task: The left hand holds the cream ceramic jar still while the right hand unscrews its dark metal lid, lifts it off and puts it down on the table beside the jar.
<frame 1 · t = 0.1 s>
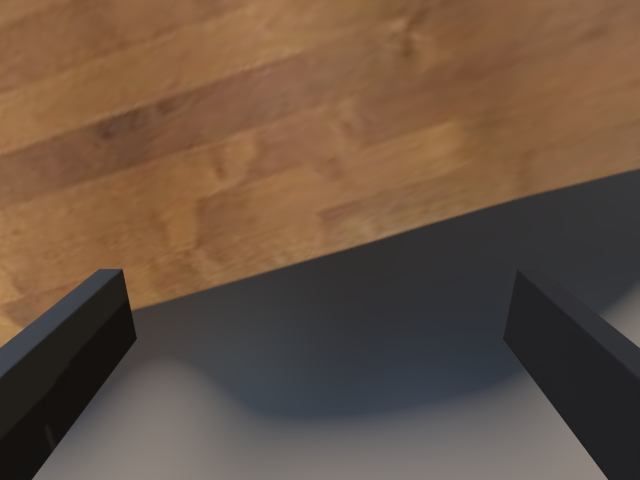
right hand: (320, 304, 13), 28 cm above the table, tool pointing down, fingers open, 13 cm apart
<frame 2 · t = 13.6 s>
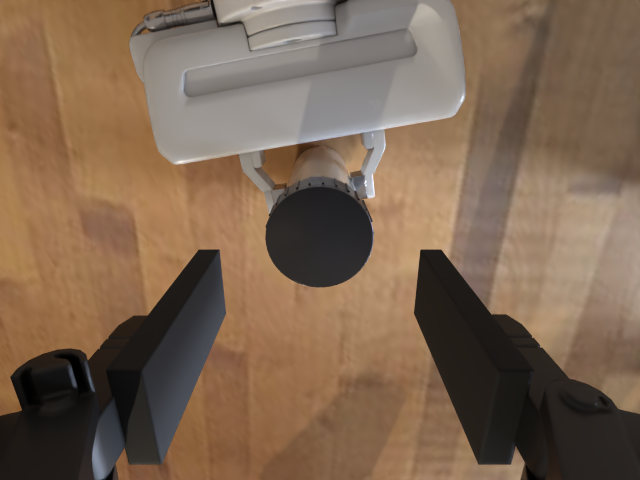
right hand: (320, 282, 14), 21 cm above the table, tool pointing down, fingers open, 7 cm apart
left hand: (322, 203, 28), fingers closed on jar, 5 cm apart
lid: (319, 237, 19), point 16 cm above the table, screwed on, not yet turned
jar: (319, 173, 34), on the table, touching left hand
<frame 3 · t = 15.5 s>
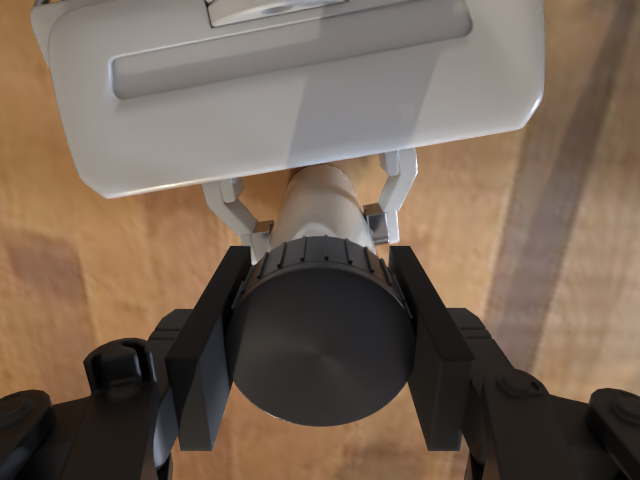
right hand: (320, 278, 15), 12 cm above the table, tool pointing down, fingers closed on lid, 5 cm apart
left hand: (324, 250, 20), fingers closed on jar, 5 cm apart
lid: (320, 346, 11), point 16 cm above the table, screwed on, not yet turned, touching right hand
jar: (320, 199, 26), on the table, touching left hand
when the right hand's fingers open (12 cm above the table, at t = 17.0 s): lid stays where it is, point 16 cm above the table.
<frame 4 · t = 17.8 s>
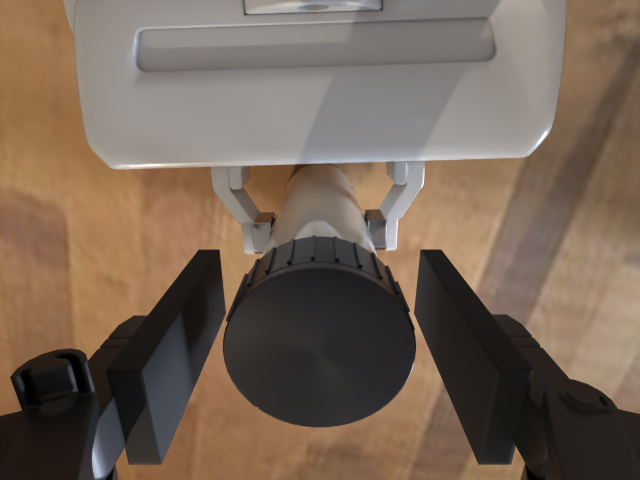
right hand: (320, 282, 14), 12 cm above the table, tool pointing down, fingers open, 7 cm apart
left hand: (321, 248, 20), fingers closed on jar, 5 cm apart
lid: (319, 347, 11), point 16 cm above the table, turned 98° so far, risen 0.3 cm, still on its thread
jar: (319, 198, 26), on the table, touching left hand
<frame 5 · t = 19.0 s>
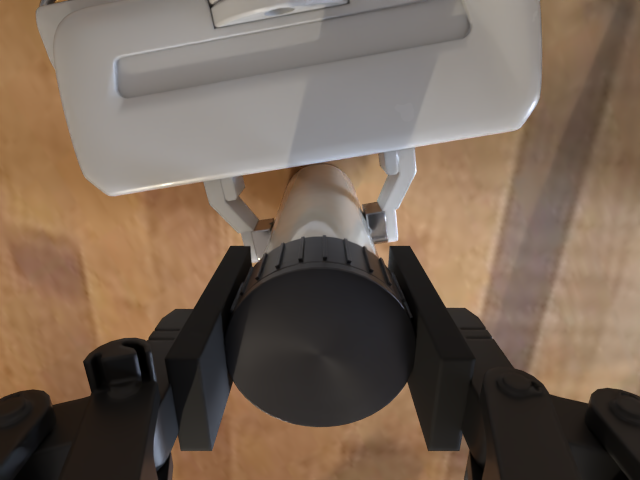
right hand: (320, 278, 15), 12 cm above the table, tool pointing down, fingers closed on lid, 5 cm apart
left hand: (323, 248, 20), fingers closed on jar, 5 cm apart
lid: (320, 347, 11), point 16 cm above the table, turned 98° so far, risen 0.3 cm, still on its thread, touching right hand
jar: (320, 198, 26), on the table, touching left hand
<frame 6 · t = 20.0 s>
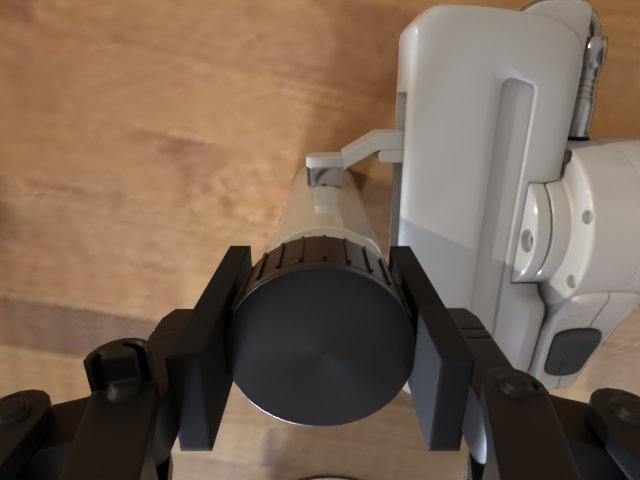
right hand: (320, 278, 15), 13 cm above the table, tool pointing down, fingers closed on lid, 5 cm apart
lid: (320, 346, 11), point 17 cm above the table, off its thread, touching right hand
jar: (324, 194, 27), on the table, touching left hand
when the right hand's fingers open (0 cm above the table, at t = 25.0 s): lid drops 2 cm, point 2 cm above the table.
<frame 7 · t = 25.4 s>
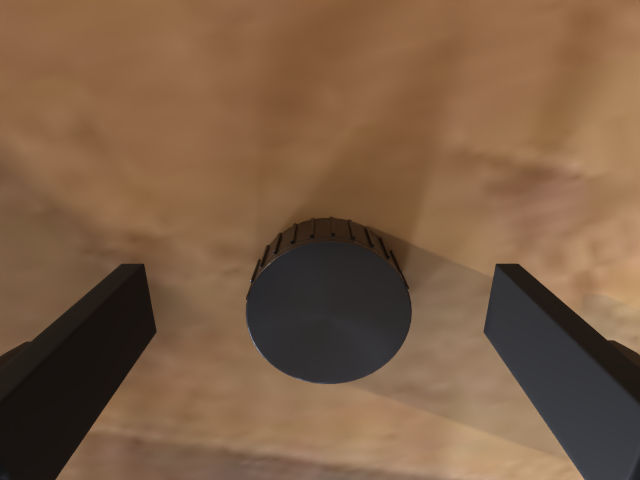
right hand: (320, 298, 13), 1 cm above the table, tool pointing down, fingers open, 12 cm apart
lid: (328, 312, 12), point 2 cm above the table, off its thread
when the left hand's fingers open (7 cm above the table, at t = 26.2 s): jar stays where it is, on the table.
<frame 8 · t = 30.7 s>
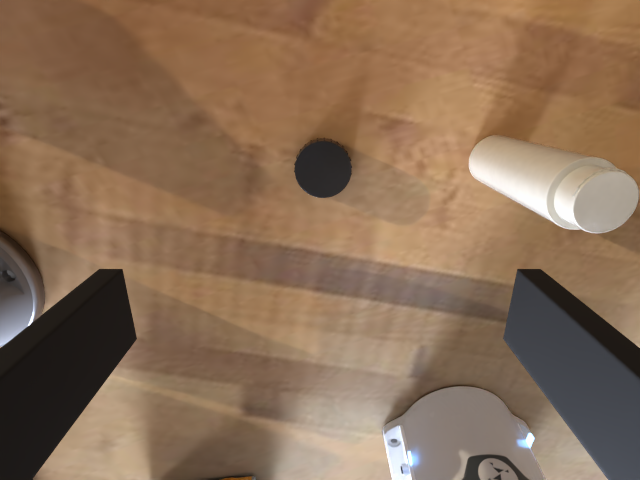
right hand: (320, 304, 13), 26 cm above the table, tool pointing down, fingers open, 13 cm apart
lid: (323, 169, 36), point 2 cm above the table, off its thread
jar: (493, 159, 37), on the table
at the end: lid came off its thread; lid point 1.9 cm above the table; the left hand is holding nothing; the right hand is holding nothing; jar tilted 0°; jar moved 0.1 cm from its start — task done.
